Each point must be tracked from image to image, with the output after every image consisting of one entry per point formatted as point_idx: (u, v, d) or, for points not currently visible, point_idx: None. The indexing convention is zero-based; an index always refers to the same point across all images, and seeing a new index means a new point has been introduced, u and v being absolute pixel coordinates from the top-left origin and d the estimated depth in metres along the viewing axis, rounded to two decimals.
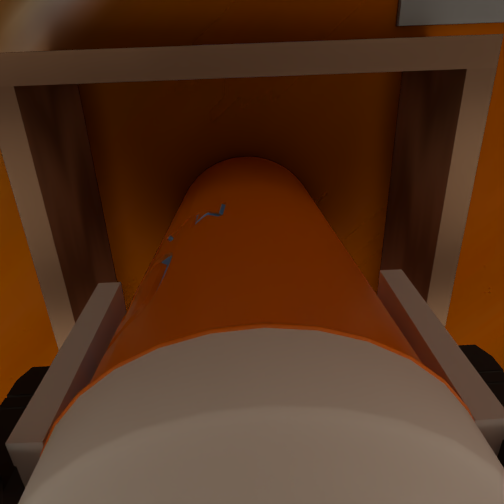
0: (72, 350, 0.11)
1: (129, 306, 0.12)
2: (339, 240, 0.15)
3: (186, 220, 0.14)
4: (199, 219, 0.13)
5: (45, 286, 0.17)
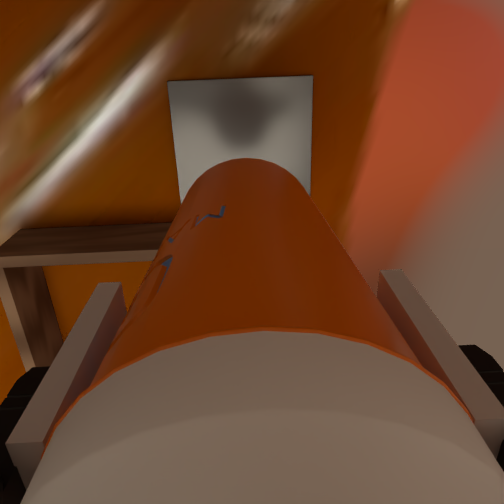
0: (72, 350, 0.11)
1: (129, 308, 0.12)
2: (339, 242, 0.15)
3: (186, 222, 0.14)
4: (199, 221, 0.13)
5: (18, 341, 0.39)
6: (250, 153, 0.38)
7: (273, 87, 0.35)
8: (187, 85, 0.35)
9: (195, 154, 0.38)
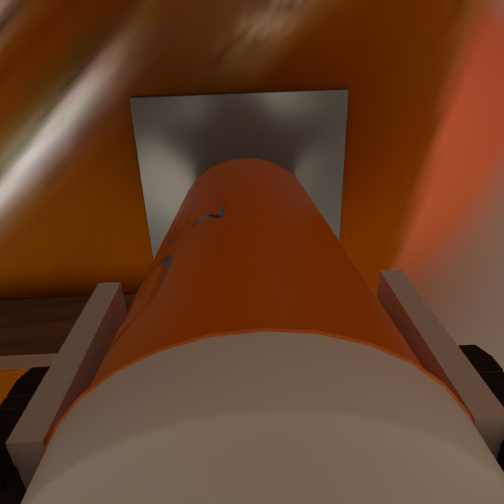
0: (72, 350, 0.11)
1: (129, 308, 0.12)
2: (339, 242, 0.15)
3: (186, 222, 0.14)
4: (199, 221, 0.13)
5: None
6: None
7: (288, 106, 0.24)
8: (160, 104, 0.23)
9: (174, 202, 0.26)
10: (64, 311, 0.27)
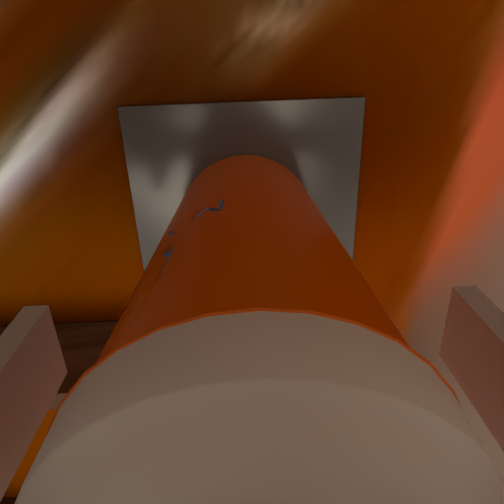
0: None
1: (131, 297, 0.12)
2: (335, 235, 0.15)
3: (186, 215, 0.15)
4: (199, 214, 0.14)
5: None
6: None
7: (297, 116, 0.21)
8: (152, 113, 0.21)
9: (168, 222, 0.23)
10: None
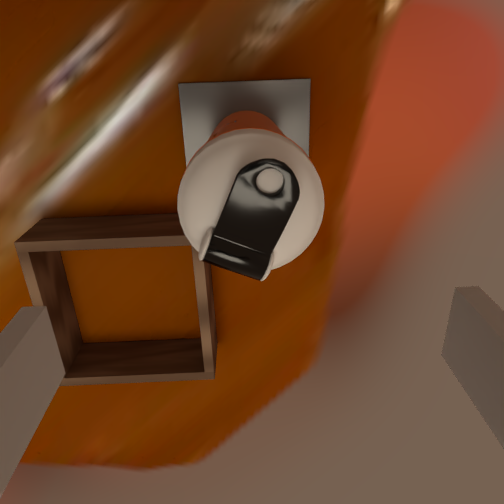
0: None
1: None
2: None
3: (219, 128, 0.33)
4: (226, 125, 0.32)
5: None
6: None
7: (274, 89, 0.39)
8: (197, 87, 0.39)
9: None
10: (132, 221, 0.42)
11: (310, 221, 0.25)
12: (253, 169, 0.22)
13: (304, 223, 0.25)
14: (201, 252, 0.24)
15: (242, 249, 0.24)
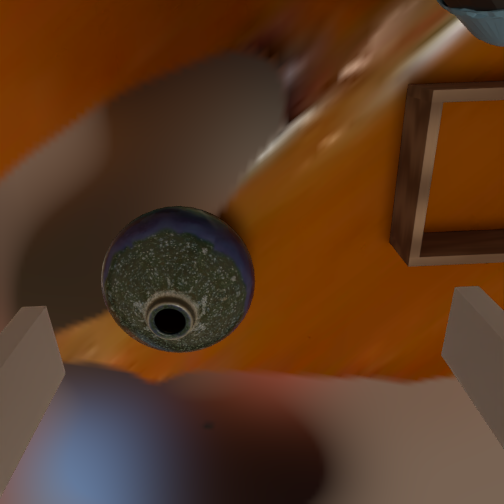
0: None
1: None
2: None
3: None
4: None
5: (421, 187, 0.40)
6: None
7: None
8: None
9: None
10: None
11: None
12: None
13: None
14: None
15: None
